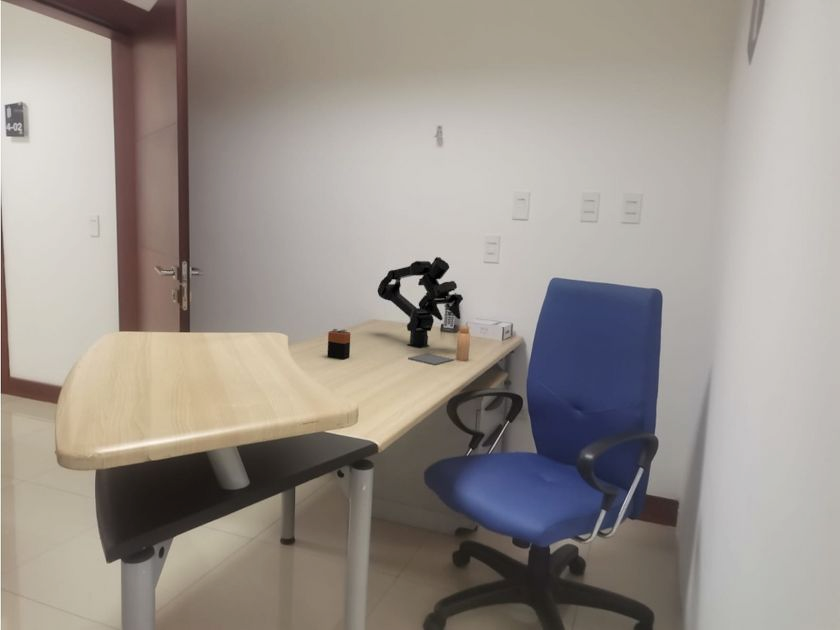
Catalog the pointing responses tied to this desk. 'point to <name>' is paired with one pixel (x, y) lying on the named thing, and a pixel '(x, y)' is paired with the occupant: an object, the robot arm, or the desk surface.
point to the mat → (431, 359)
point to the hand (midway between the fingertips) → (450, 319)
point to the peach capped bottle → (463, 343)
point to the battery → (338, 344)
